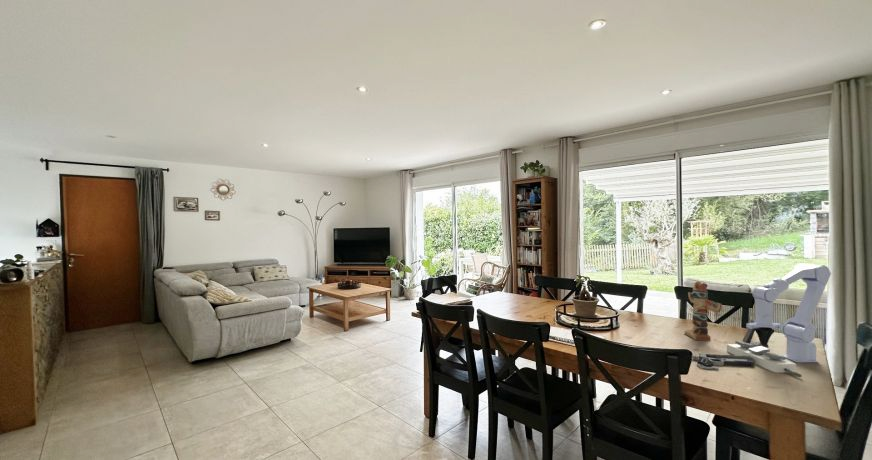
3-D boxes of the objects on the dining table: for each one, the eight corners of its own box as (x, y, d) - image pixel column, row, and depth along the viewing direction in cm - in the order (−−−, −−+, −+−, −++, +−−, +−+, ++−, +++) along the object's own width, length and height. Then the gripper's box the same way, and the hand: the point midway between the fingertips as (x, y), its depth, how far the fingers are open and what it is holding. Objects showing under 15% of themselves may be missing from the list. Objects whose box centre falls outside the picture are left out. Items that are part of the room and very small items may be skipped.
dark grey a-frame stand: (765, 343, 183) (765, 320, 183) (768, 347, 178) (768, 323, 178) (742, 340, 188) (742, 318, 188) (745, 344, 183) (745, 321, 182)
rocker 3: (775, 356, 157) (776, 354, 156) (784, 360, 153) (785, 357, 152) (762, 354, 156) (763, 351, 156) (771, 358, 152) (772, 355, 152)
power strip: (744, 351, 174) (745, 342, 174) (811, 378, 144) (811, 368, 144) (726, 351, 173) (726, 343, 173) (789, 379, 143) (789, 368, 143)
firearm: (768, 368, 148) (745, 353, 163) (701, 364, 154) (684, 350, 168) (767, 375, 149) (745, 360, 163) (700, 371, 154) (684, 356, 168)
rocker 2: (761, 348, 163) (760, 345, 163) (769, 351, 159) (769, 348, 159) (748, 351, 163) (748, 348, 163) (756, 354, 159) (756, 351, 159)
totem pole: (675, 328, 209) (676, 277, 208) (689, 329, 208) (690, 278, 207) (705, 346, 181) (706, 287, 180) (722, 346, 180) (722, 287, 179)
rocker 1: (747, 345, 171) (747, 342, 170) (754, 348, 167) (755, 345, 166) (735, 343, 170) (735, 340, 170) (742, 346, 166) (743, 343, 166)
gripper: (756, 316, 157) (756, 347, 157) (788, 316, 157) (788, 346, 158) (742, 312, 164) (742, 341, 164) (773, 312, 164) (772, 341, 165)
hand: (763, 344), depth 161 cm, fingers closed
